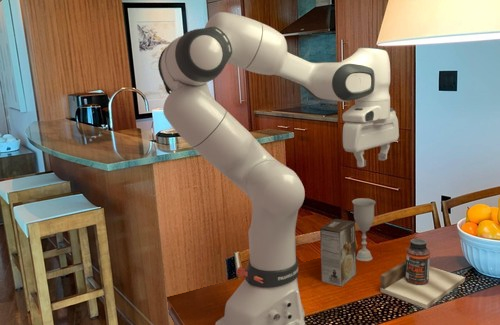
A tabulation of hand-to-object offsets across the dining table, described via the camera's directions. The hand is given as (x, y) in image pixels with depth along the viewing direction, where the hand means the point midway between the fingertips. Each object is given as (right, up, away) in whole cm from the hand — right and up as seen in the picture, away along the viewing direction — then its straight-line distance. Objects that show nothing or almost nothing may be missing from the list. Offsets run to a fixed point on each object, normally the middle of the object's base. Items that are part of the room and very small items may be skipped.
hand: (372, 163), depth 128 cm
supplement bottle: (+13, -32, +2) cm, 34 cm away
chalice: (+3, -29, +21) cm, 36 cm away
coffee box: (-7, -33, +9) cm, 35 cm away
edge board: (+14, -33, +1) cm, 36 cm away
